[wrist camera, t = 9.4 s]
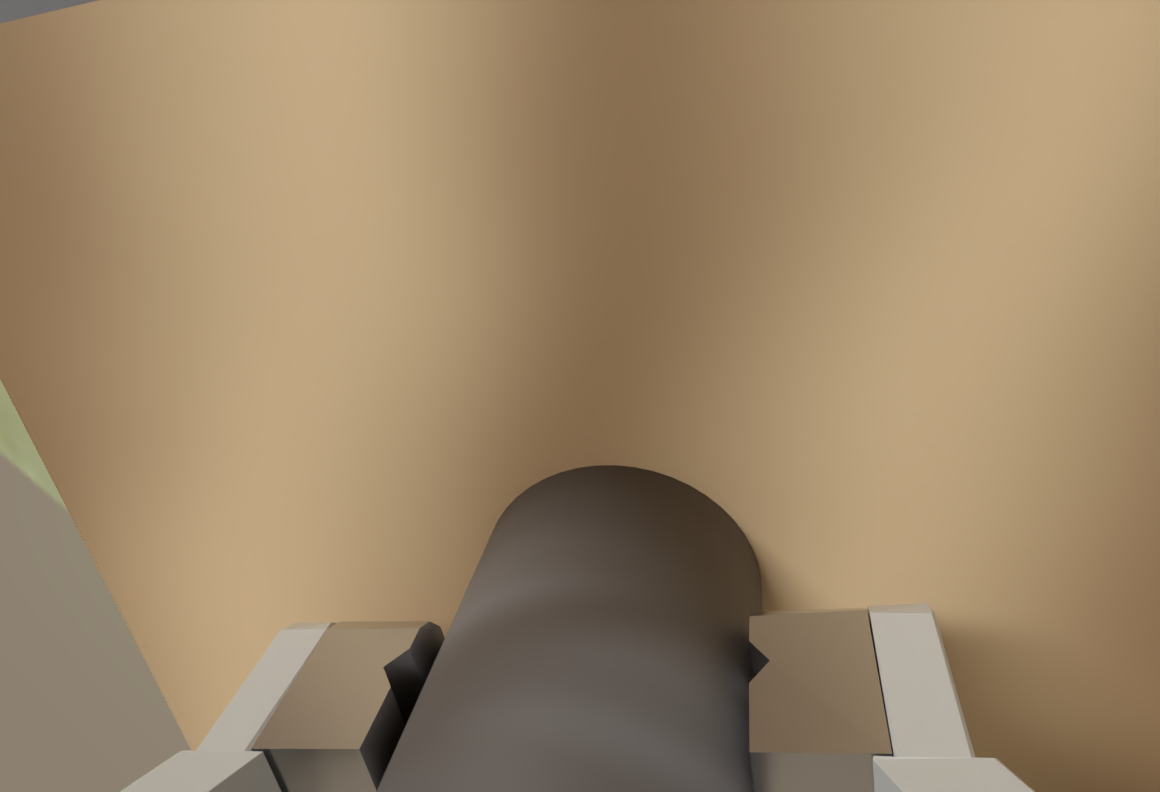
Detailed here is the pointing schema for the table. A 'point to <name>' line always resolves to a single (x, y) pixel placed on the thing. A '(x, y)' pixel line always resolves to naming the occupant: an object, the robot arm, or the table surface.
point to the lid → (604, 355)
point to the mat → (33, 7)
